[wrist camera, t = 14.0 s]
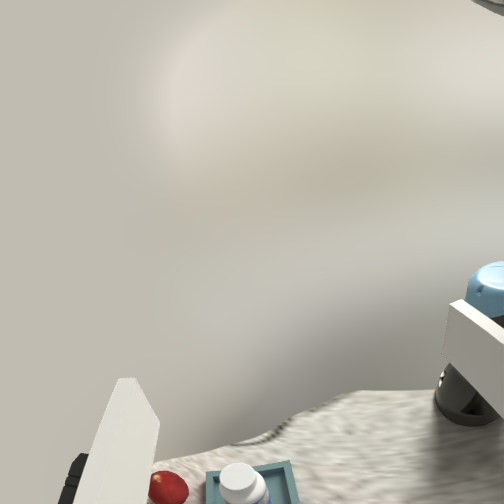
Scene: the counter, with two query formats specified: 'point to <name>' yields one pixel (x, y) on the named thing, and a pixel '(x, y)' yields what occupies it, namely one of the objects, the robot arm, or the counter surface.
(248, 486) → the pill bottle
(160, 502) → the onion
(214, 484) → the tray
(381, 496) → the counter surface
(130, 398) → the robot arm
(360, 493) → the counter surface
